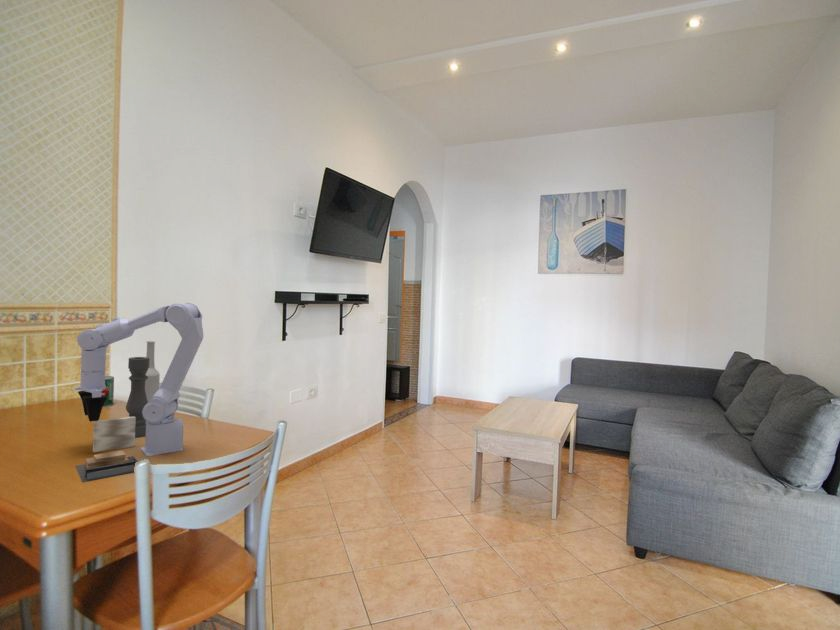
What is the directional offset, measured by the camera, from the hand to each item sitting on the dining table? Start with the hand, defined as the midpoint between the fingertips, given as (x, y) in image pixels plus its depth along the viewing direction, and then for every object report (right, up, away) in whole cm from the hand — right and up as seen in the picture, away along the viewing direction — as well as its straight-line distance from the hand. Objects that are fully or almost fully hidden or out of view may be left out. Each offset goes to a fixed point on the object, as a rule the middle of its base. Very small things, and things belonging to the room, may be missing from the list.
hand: (91, 417), depth 130 cm
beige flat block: (+5, -10, +2) cm, 11 cm away
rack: (+14, -11, -13) cm, 22 cm away
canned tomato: (-32, -6, +49) cm, 59 cm away
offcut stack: (+11, -10, -10) cm, 18 cm away
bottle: (-5, -8, +36) cm, 37 cm away
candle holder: (+3, -9, +15) cm, 18 cm away
